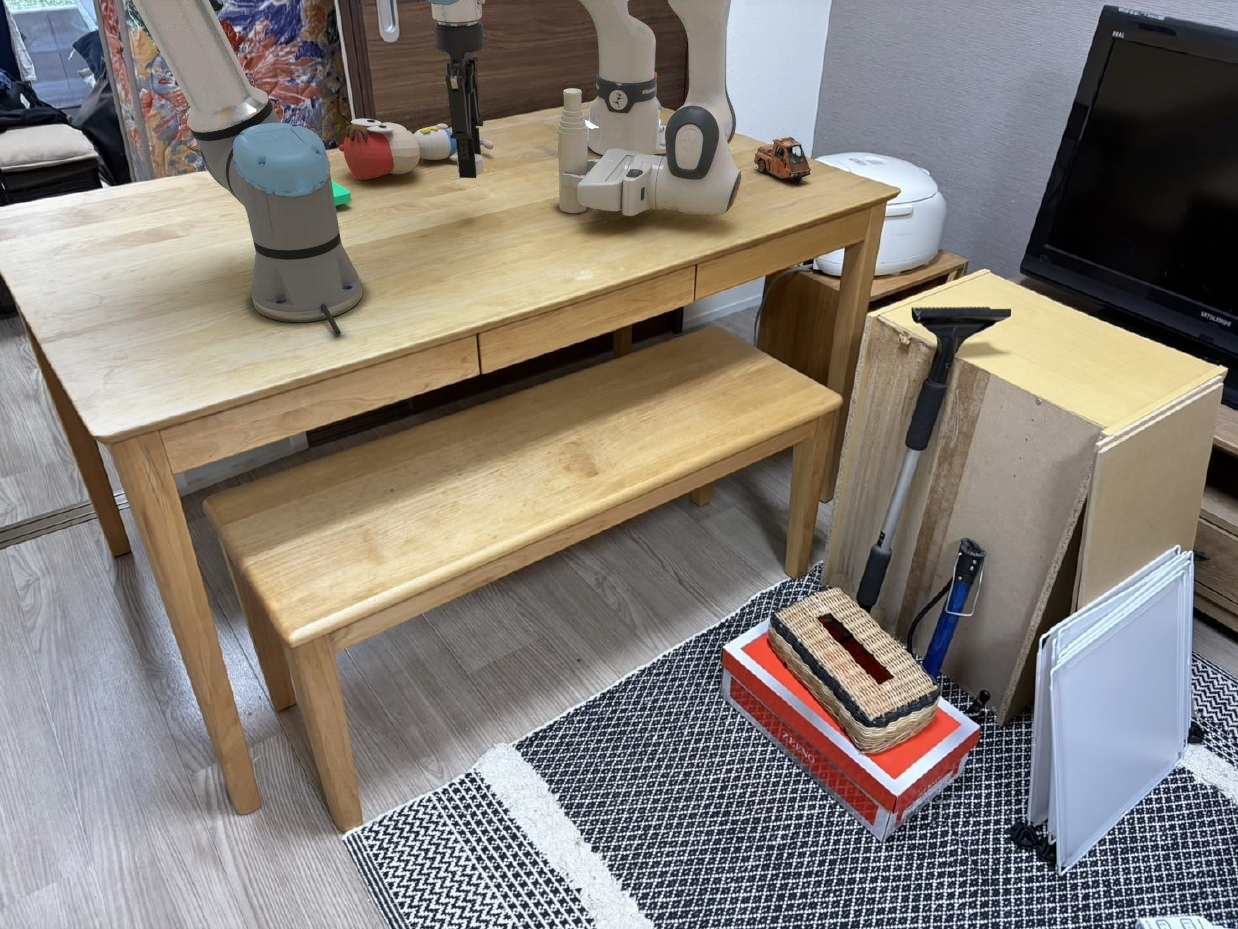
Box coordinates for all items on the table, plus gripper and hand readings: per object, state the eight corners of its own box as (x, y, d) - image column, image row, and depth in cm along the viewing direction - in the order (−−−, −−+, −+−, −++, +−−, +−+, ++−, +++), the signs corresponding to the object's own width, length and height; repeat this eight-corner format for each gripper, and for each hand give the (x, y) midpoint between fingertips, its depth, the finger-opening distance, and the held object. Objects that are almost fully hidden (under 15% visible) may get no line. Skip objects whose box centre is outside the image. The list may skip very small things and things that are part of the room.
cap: (488, 169, 156) (487, 155, 155) (475, 177, 153) (474, 163, 152) (466, 165, 157) (465, 151, 156) (453, 173, 154) (452, 159, 153)
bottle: (592, 208, 165) (593, 91, 153) (570, 215, 162) (569, 96, 150) (576, 200, 168) (575, 84, 156) (553, 206, 166) (551, 89, 153)
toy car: (770, 163, 186) (774, 128, 182) (815, 180, 179) (820, 144, 175) (747, 169, 183) (751, 133, 179) (792, 187, 176) (798, 150, 172)
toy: (509, 125, 177) (354, 129, 162) (508, 179, 181) (358, 188, 166) (468, 109, 190) (322, 111, 175) (468, 160, 195) (326, 166, 180)
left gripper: (471, 34, 134) (483, 191, 148) (492, 9, 148) (501, 155, 162) (420, 33, 134) (437, 190, 149) (445, 8, 148) (458, 153, 162)
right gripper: (659, 144, 165) (585, 135, 168) (630, 182, 149) (549, 172, 152) (658, 179, 169) (585, 170, 172) (628, 220, 153) (549, 209, 156)
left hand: (470, 171), depth 155 cm, fingers closed on cap, 4 cm apart
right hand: (568, 171), depth 162 cm, fingers closed on bottle, 5 cm apart
